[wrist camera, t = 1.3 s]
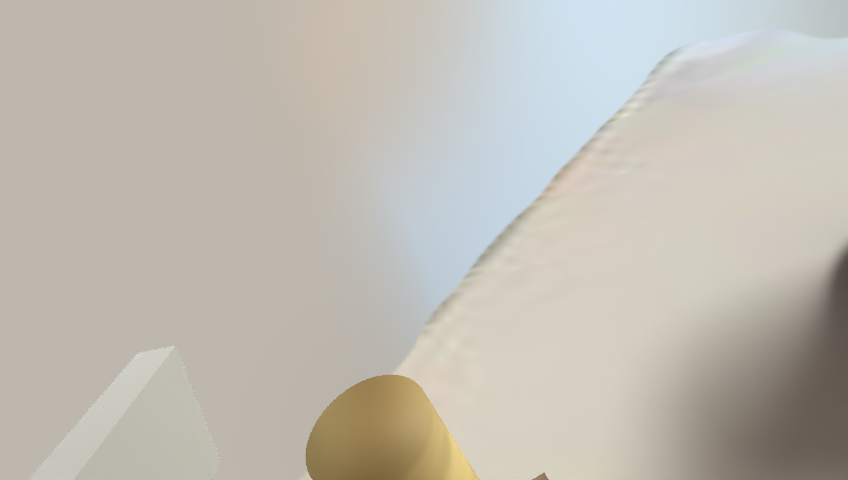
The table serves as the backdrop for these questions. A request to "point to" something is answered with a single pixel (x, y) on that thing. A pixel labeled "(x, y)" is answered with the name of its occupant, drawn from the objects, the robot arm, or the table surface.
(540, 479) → the board
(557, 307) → the table surface
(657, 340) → the table surface
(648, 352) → the table surface
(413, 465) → the peg
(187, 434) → the robot arm
